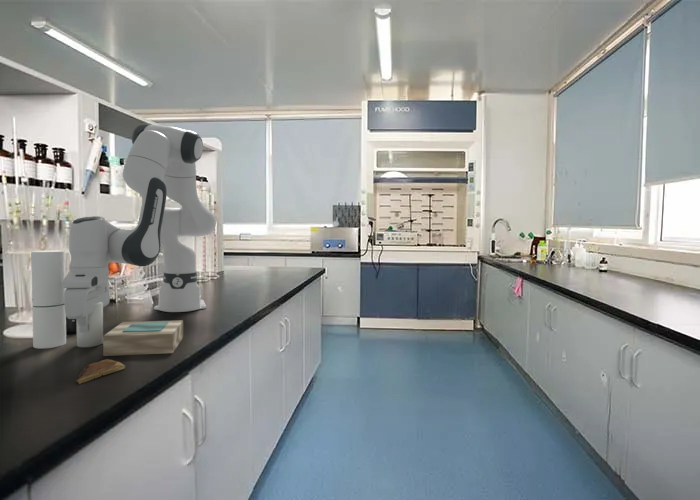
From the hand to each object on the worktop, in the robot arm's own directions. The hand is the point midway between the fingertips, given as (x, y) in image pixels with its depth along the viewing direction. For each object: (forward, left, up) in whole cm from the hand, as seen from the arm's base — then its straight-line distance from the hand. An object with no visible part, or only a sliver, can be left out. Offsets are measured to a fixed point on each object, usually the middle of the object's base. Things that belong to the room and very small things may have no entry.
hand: (90, 328), depth 111 cm
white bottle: (0, 0, -4) cm, 4 cm away
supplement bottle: (-15, -10, -4) cm, 19 cm away
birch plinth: (+4, +15, -4) cm, 16 cm away
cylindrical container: (-1, -10, -4) cm, 11 cm away
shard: (+24, +11, -5) cm, 27 cm away
